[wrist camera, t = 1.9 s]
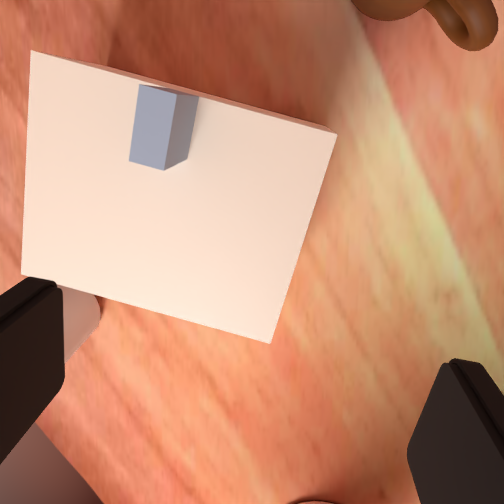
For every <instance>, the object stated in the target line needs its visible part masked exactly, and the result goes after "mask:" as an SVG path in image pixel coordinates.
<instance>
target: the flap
mask: <svg viewBox="0 0 504 504" xmlns="http://www.w3.org/2000/svg"><path fill="white" fill-rule="evenodd" d="M337 135H338V134H335V133H332V132H328V131H324V130H321V129H317V128H314V127H310V126H306V125H303V124H299V123H295V122H292V121H288V120H284V119H281V118H277V117H273V116H270V115H266V114H263V113H259V112H255V111H252V110H248V109H244V108H241V107H237V106H233V105H230V104H226V103H223V102H219V101H215V100H212V99H208V98H204V97H201V96H197V95H193V94H190V93H186V92H182V91H179V90H175V89H172V88H168V87H164V86H161V85H157V84H153V83H150V82H146V81H142V80H139V79H135V78H131V77H128V76H124V75H121V74H117V73H113V72H110V71H106V70H102V69H99V68H95V67H91V66H88V65H84V64H81V63H77V62H73V61H70V60H66V59H62V58H59V57H55V56H51V55H48V54H44V53H40V52H37V51H32V50H31V60H30V83H29V106H28V128H27V151H26V174H25V196H24V219H23V242H22V265H21V274H22V275H26V276H30V277H36V278H42V279H47V280H52V281H54V282H56V284H58V285H62V286H65V287H69V288H73V289H76V290H80V291H83V292H87V293H91V294H94V295H98V296H101V297H105V298H108V299H112V300H116V301H119V302H123V303H126V304H130V305H133V306H137V307H141V308H144V309H148V310H151V311H155V312H159V313H162V314H166V315H169V316H173V317H176V318H180V319H184V320H187V321H191V322H194V323H198V324H201V325H205V326H209V327H212V328H216V329H219V330H223V331H227V332H230V333H234V334H237V335H241V336H244V337H248V338H252V339H255V340H259V341H262V342H266V343H269V344H270V343H271V340H272V337H273V334H274V331H275V328H276V325H277V322H278V318H279V315H280V312H281V309H282V306H283V303H284V300H285V297H286V294H287V290H288V287H289V284H290V281H291V278H292V275H293V272H294V269H295V266H296V263H297V259H298V256H299V253H300V250H301V247H302V244H303V241H304V238H305V235H306V232H307V228H308V225H309V222H310V219H311V216H312V213H313V210H314V207H315V204H316V201H317V197H318V194H319V191H320V188H321V185H322V182H323V179H324V176H325V173H326V169H327V166H328V163H329V160H330V157H331V154H332V151H333V148H334V145H335V142H336V138H337Z"/></svg>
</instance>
